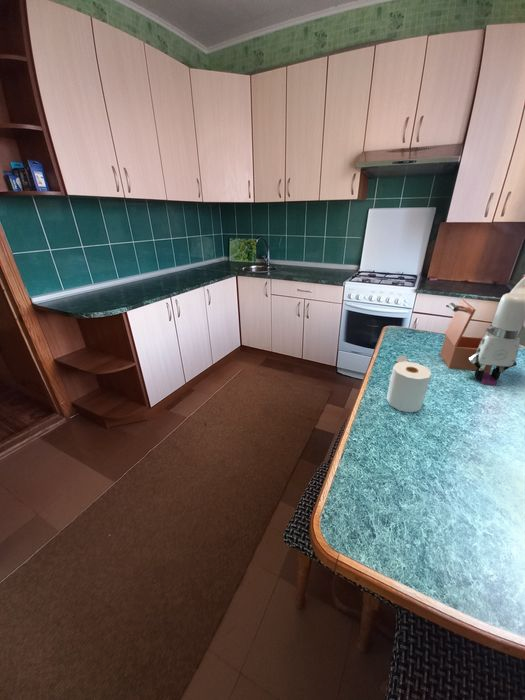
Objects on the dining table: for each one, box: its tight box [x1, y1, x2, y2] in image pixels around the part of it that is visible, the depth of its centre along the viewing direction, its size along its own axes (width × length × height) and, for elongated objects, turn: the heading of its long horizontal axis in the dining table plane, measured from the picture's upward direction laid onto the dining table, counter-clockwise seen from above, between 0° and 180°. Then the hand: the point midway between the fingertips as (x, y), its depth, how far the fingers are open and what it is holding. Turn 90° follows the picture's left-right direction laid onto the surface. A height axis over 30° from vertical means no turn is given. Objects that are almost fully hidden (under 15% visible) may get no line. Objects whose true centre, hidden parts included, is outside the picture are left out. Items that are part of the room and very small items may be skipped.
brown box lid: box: [444, 299, 476, 347], centre depth 108 cm, size 14×12×5 cm
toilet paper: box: [386, 361, 432, 414], centre depth 89 cm, size 10×10×12 cm
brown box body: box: [439, 335, 493, 373], centre depth 111 cm, size 14×12×9 cm
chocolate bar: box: [480, 372, 498, 387], centre depth 102 cm, size 7×4×2 cm, turn 166°
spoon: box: [388, 355, 409, 382], centre depth 109 cm, size 4×21×2 cm, turn 145°
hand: (485, 379), depth 102 cm, fingers closed on chocolate bar, 4 cm apart
